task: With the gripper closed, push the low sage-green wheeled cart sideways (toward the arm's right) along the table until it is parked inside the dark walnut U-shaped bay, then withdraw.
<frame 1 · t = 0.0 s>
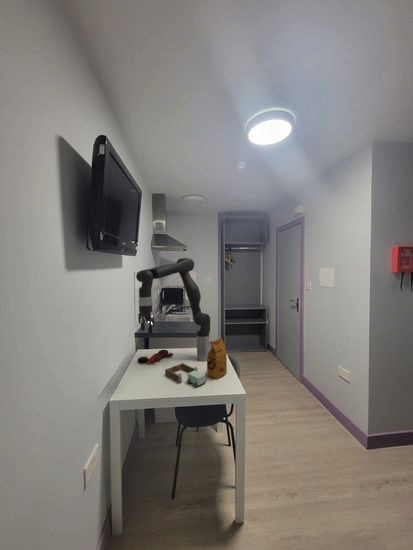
hand: (146, 331, 137), 29 cm above the table, fingers open, 8 cm apart
toy motorcycle: (156, 360, 170), on the table
coffee package: (216, 374, 144), on the table
cart: (196, 383, 134), on the table
bay: (181, 375, 144), on the table
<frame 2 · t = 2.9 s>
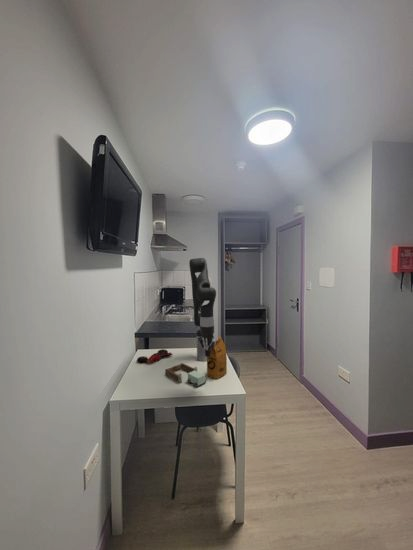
hand: (207, 356, 126), 18 cm above the table, fingers closed
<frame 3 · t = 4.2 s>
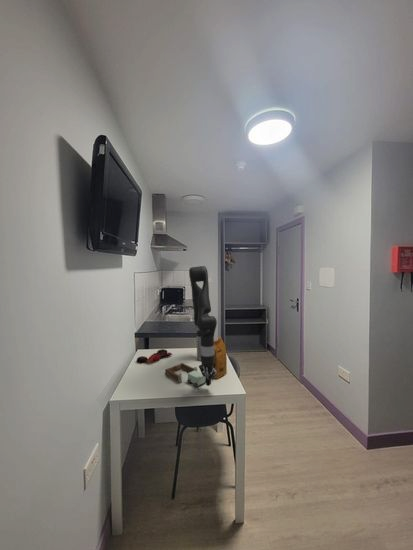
hand: (208, 384, 126), 3 cm above the table, fingers closed
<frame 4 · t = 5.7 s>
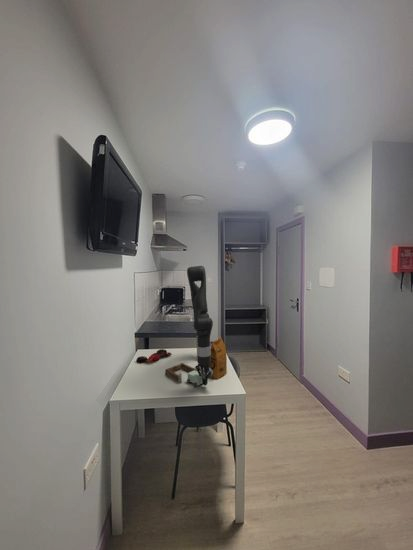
hand: (204, 384, 129), 2 cm above the table, fingers closed
cart: (196, 383, 134), on the table, touching gripper
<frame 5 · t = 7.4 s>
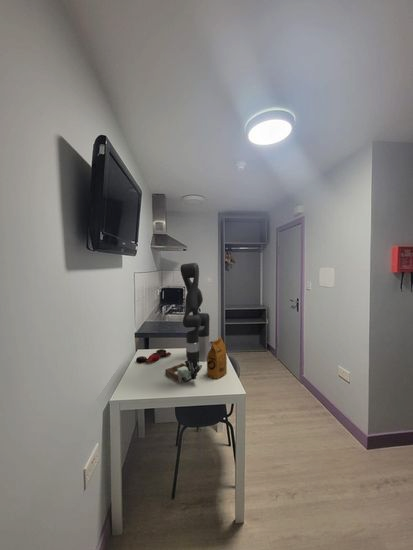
hand: (193, 379, 135), 2 cm above the table, fingers closed
cart: (185, 378, 140), on the table, touching gripper
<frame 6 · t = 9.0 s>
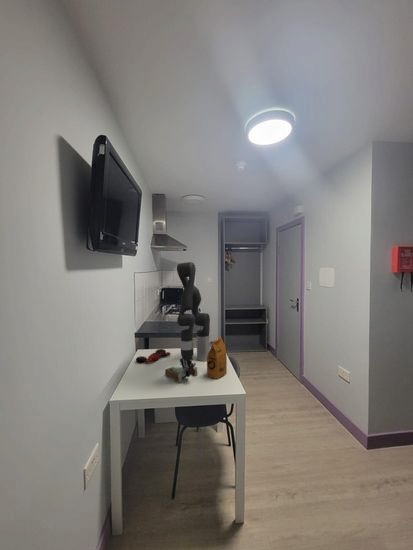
hand: (187, 376, 139), 2 cm above the table, fingers closed
cart: (180, 375, 144), on the table, touching gripper
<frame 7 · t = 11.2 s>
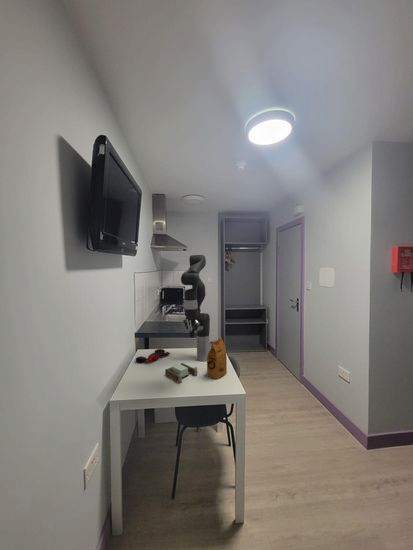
hand: (191, 337, 135), 26 cm above the table, fingers closed
cart: (180, 375, 144), on the table
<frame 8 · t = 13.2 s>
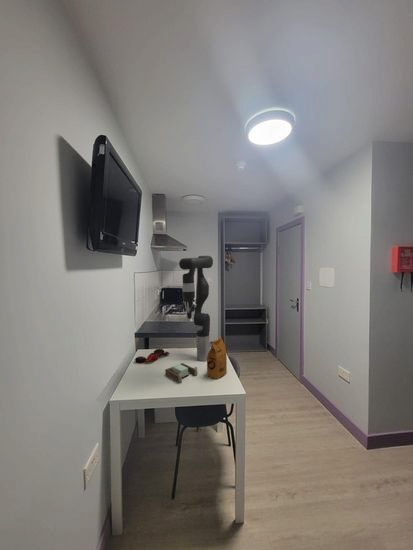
hand: (189, 318, 144), 35 cm above the table, fingers closed
at the end: cart inside the target area on the bay (0.8 cm from its centre), point 0.0 cm above the bay's base; cart tilted 0°; the gripper is holding nothing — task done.
